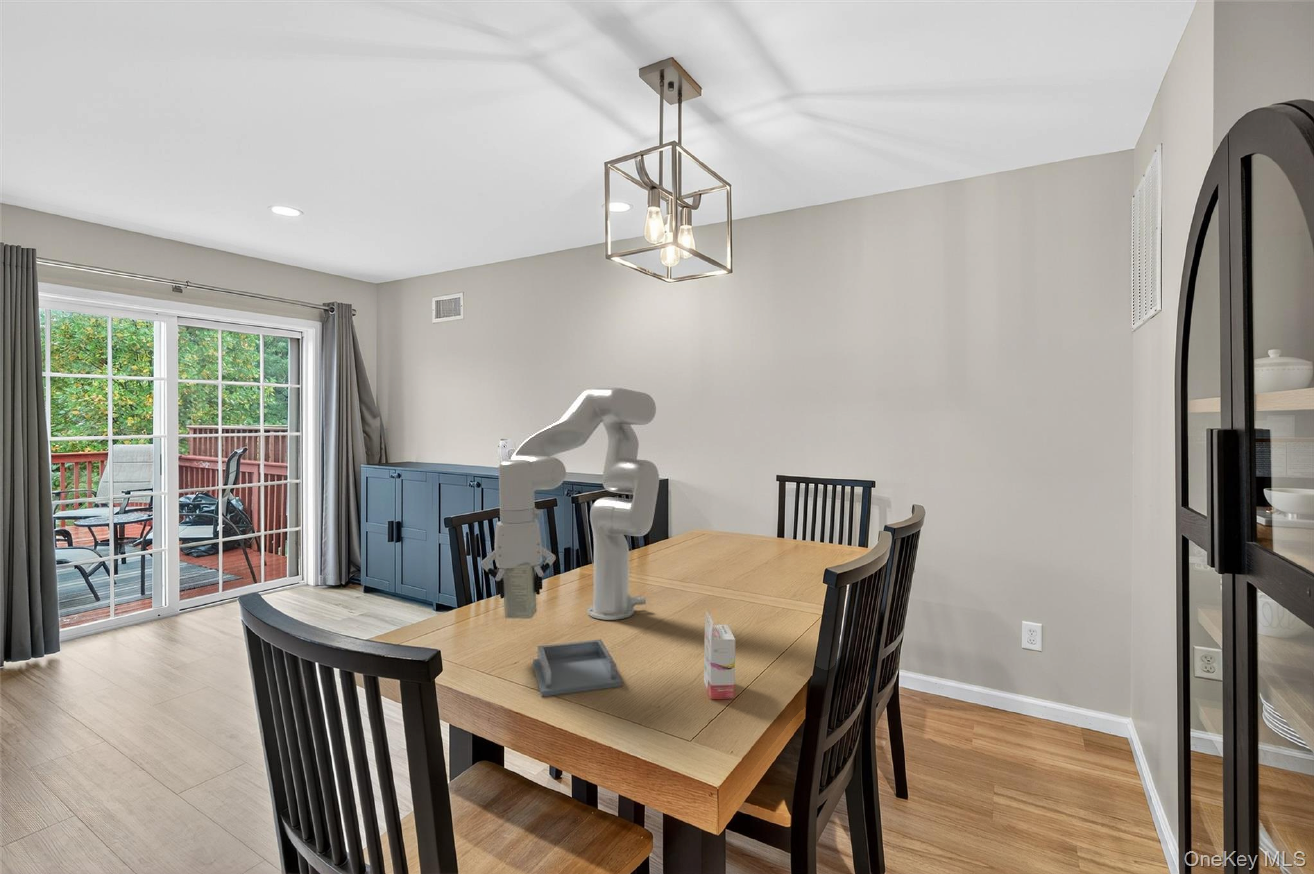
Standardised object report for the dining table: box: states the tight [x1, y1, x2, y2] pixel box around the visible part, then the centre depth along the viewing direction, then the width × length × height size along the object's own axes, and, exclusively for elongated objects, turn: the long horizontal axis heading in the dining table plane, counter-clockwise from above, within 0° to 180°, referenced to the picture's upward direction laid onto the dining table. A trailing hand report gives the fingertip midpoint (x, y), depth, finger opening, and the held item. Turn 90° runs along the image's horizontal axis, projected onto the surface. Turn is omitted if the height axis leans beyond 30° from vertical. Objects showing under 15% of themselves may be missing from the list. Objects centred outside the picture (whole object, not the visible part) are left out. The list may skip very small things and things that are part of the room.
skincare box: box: [502, 564, 538, 620], centre depth 136 cm, size 6×4×12 cm
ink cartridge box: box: [703, 611, 736, 700], centre depth 121 cm, size 9×5×15 cm, turn 5°
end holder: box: [532, 639, 623, 697], centre depth 128 cm, size 16×16×4 cm
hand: (519, 594), depth 136 cm, fingers closed on skincare box, 7 cm apart
